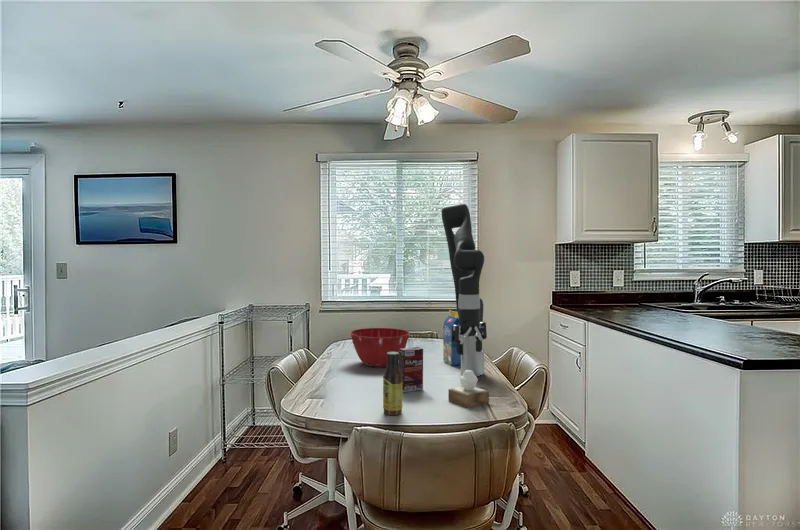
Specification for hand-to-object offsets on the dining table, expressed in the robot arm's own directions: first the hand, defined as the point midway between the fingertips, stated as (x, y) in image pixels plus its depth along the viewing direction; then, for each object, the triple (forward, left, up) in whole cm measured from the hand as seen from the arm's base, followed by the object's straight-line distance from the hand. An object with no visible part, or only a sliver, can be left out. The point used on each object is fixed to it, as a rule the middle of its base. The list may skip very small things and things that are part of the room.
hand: (469, 353), depth 173 cm
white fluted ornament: (0, 0, -13) cm, 13 cm away
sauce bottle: (+29, -4, -17) cm, 34 cm away
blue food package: (-36, -52, -17) cm, 66 cm away
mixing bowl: (-6, -70, -17) cm, 73 cm away
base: (0, 0, -17) cm, 17 cm away
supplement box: (+8, -24, -17) cm, 31 cm away
